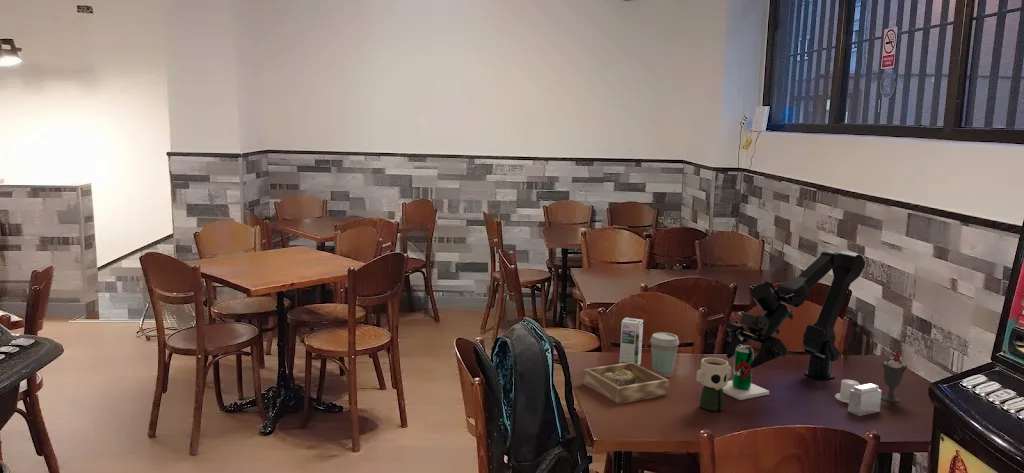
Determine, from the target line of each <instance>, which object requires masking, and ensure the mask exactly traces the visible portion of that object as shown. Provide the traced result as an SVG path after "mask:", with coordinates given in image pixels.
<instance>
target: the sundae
mask: <svg viewBox="0 0 1024 473" xmlns="http://www.w3.org/2000/svg"><path fill="white" fill-rule="evenodd" d="M899 352H900V349H898V350H897V352H896V353H895V354H892V355H890V356H889V358H888V359H887V360H883V361H882V362H881V363H880V365H881V366H882V367H883V380H884V383H885V384H886V386H887V387H888V388H889V389H888V393H887V394H886V395H881V400H883V401H885V402H889V403H893V404H895V403H900V402H901V399H900V398H898V397H896V396H895V392H894V391H895V388H897V387H899V386H900V385H901V383H902V381H903V376H904V372H905V371H906V370H907V369H908V366H907V365H906V364H905V363H904V361H903V358H902V357H901V354H899Z"/></svg>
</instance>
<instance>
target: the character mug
mask: <svg viewBox="0 0 1024 473" xmlns="http://www.w3.org/2000/svg"><path fill="white" fill-rule="evenodd" d="M731 375H732V367H731V365H729V361H728V360H725V359H722V358H718V357H705V358H701V360H700V369H698V370H696V382H699V383H700V384H701V385H703V387H702V391H701V395H700V400H699V406H701V407H702V408H704V409H705V410H708V411H716V412H717V411H718V408H719V410H720V411H723V410H724V409H725V408H724V405H725V403H724V399H725V398H724V392H723V389H722V388H724V387H725V386H726V385H727V383H728V381H729V379H730V378H731Z"/></svg>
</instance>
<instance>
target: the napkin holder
mask: <svg viewBox="0 0 1024 473" xmlns="http://www.w3.org/2000/svg"><path fill="white" fill-rule="evenodd" d="M879 387H880V386H879V385H877V384H874V383H871V382H870V383H864V384H859V386H854V389H853V390H850V395H849V403H847V404H848V406H847V412H849V413H852V414H853V415H856V416H859V417H862V416H865V415H870V414H875V413H879V412H880V411H881V402H882V399H881V396H882V392H883V391H882V390H881V389H879Z"/></svg>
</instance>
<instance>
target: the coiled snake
mask: <svg viewBox="0 0 1024 473" xmlns="http://www.w3.org/2000/svg"><path fill="white" fill-rule="evenodd" d="M604 378H605V379H607V380H608V381H610V382H612V383H614V384H616V385H617V386H619V387H621V386H627V385H633V384H635V379H636V376H635V375H634V374H633V373H632V372H630V371H627V370H624V369H621V368H618V370H617V372H615V373H614V374H613V373H610V372H609V373H605V374H604Z"/></svg>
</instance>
